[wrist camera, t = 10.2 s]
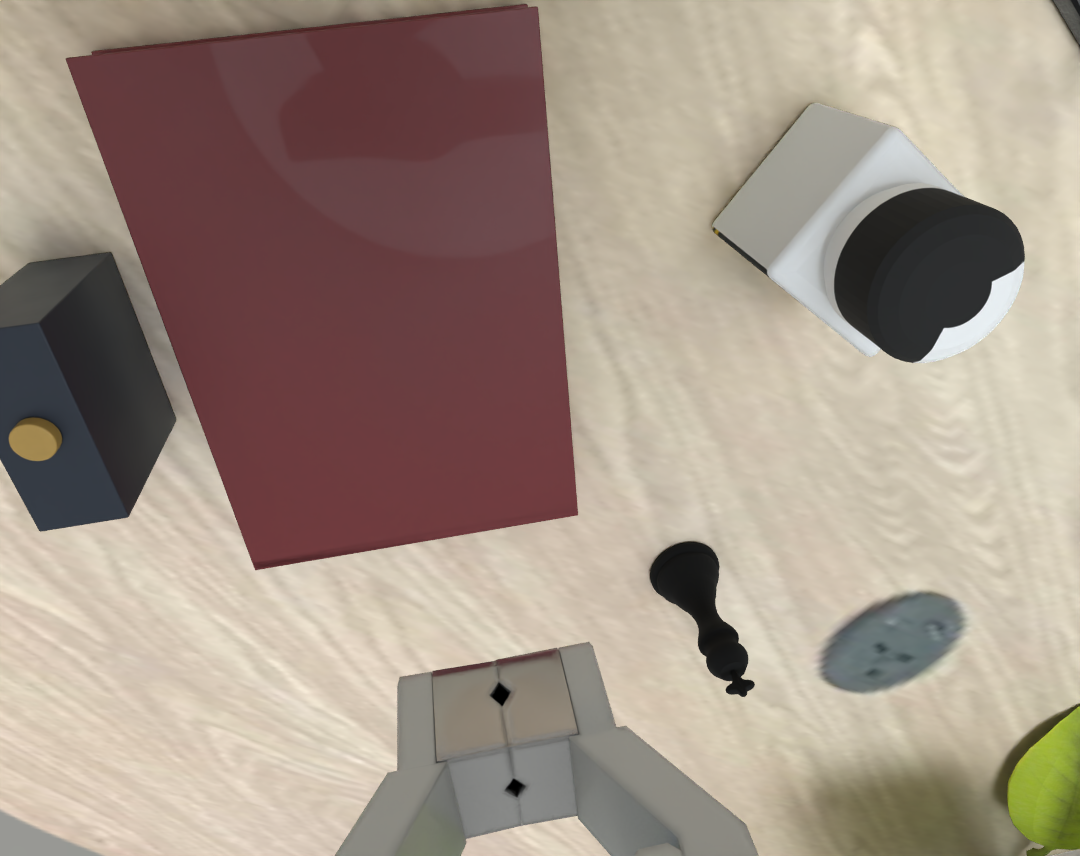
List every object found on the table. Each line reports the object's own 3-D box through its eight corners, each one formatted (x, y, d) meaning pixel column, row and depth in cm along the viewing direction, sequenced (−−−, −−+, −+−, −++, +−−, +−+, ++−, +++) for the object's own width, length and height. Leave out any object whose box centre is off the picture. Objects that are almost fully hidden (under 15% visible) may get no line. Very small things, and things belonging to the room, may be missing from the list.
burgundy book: (93, 51, 30) (64, 58, 27) (526, 3, 31) (538, 6, 29) (263, 534, 42) (255, 570, 40) (567, 483, 44) (578, 515, 41)
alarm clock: (69, 247, 35) (-137, 323, 28) (184, 259, 32) (-18, 346, 25) (137, 411, 39) (-28, 508, 33) (244, 436, 36) (85, 547, 30)
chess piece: (719, 585, 50) (785, 712, 41) (653, 602, 50) (706, 732, 41) (715, 534, 47) (784, 656, 39) (646, 551, 47) (700, 678, 39)
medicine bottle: (706, 226, 37) (823, 321, 27) (811, 97, 35) (982, 149, 25) (801, 303, 40) (939, 415, 30) (903, 189, 38) (1090, 269, 28)
